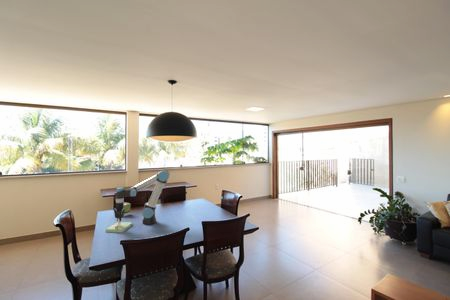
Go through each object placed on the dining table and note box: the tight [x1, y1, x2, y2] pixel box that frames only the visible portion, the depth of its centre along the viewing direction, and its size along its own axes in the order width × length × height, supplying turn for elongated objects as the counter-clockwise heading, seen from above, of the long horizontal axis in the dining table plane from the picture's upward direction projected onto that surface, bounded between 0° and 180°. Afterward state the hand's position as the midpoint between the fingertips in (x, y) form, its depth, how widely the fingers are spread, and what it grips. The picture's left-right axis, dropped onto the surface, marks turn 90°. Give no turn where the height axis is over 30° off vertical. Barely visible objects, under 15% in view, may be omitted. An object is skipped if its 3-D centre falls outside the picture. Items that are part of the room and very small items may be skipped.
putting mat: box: [105, 221, 134, 234], centre depth 222 cm, size 17×22×3 cm
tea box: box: [116, 201, 131, 217], centre depth 269 cm, size 15×10×15 cm
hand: (119, 224), depth 222 cm, fingers closed
